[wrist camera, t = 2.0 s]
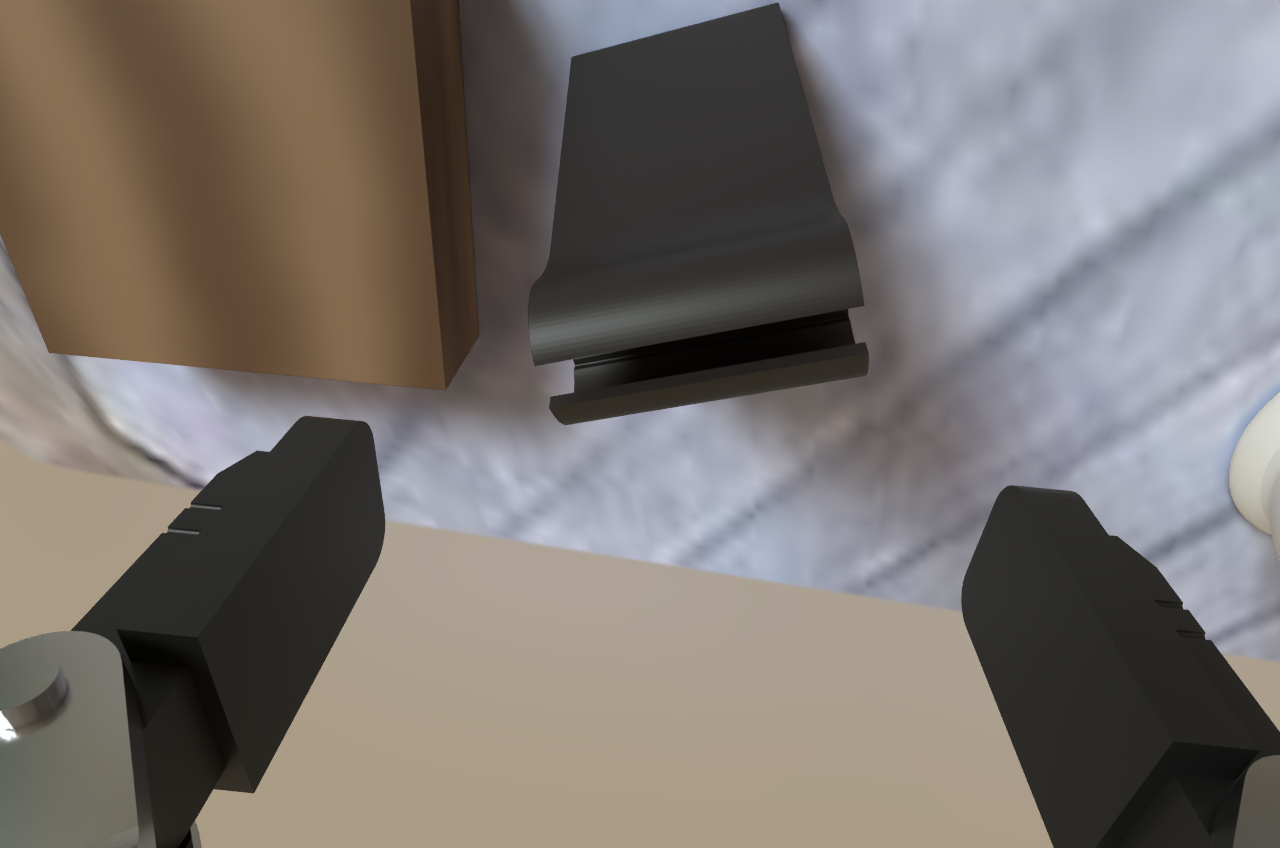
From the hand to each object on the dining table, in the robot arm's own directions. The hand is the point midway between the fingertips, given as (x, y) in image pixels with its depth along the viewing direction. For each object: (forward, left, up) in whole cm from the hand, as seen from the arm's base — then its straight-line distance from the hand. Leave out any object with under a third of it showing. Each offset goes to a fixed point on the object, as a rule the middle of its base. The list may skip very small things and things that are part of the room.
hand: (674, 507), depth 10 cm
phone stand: (0, 0, -17) cm, 17 cm away
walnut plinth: (+14, 0, -16) cm, 21 cm away
